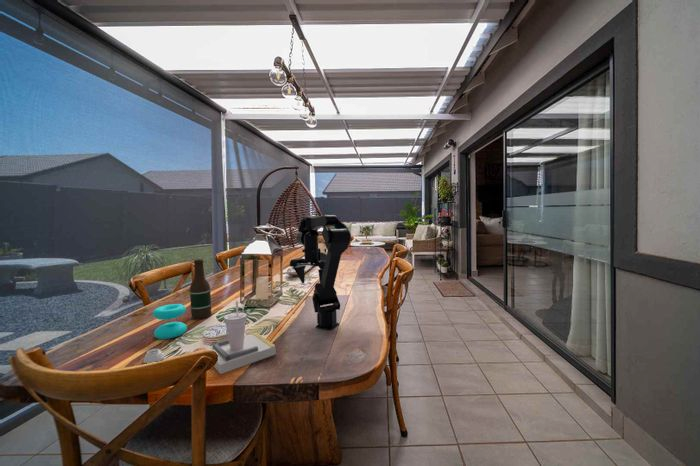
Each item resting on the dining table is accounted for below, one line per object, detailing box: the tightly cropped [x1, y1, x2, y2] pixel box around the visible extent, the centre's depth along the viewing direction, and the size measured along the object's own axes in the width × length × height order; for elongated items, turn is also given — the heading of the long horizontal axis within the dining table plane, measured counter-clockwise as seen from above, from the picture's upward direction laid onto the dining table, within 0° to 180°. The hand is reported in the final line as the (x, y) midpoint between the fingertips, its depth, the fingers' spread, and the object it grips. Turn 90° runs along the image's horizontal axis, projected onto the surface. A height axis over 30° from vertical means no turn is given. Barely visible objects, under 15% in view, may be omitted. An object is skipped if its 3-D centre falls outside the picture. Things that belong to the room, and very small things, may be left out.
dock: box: [204, 332, 277, 375], centre depth 89 cm, size 16×14×4 cm
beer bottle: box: [189, 259, 212, 320], centre depth 123 cm, size 8×8×24 cm
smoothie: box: [223, 300, 248, 350], centre depth 88 cm, size 6×6×14 cm
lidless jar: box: [143, 348, 165, 364], centre depth 87 cm, size 5×3×5 cm
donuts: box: [152, 303, 188, 340], centre depth 105 cm, size 10×10×10 cm
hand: (312, 284), depth 122 cm, fingers open, 9 cm apart
